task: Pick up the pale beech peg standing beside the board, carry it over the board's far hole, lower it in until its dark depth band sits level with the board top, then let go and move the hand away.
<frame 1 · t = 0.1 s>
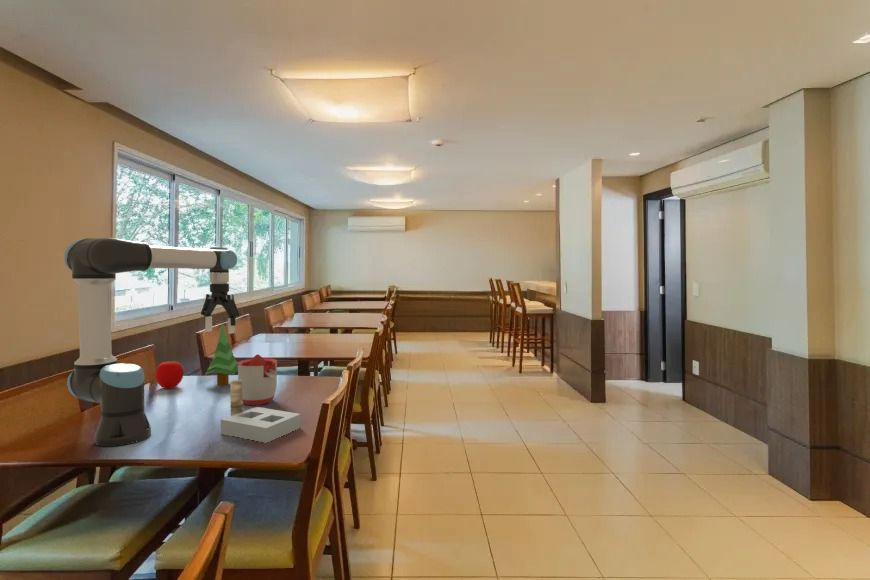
hand: (219, 332, 198), 28 cm above the table, tool pointing down, fingers open, 13 cm apart
board: (261, 431, 157), on the table
red rounded piece: (169, 388, 214), on the table
decorative tree: (222, 385, 221), on the table
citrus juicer: (259, 402, 191), on the table
peg: (236, 419, 169), on the table
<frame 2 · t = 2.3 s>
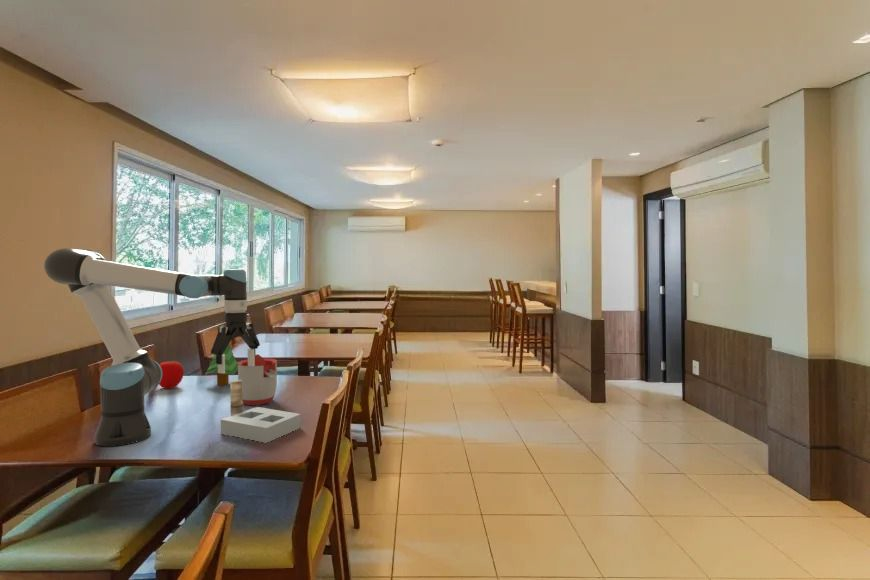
hand: (236, 369, 169), 18 cm above the table, tool pointing down, fingers open, 13 cm apart
nothing on the table moved.
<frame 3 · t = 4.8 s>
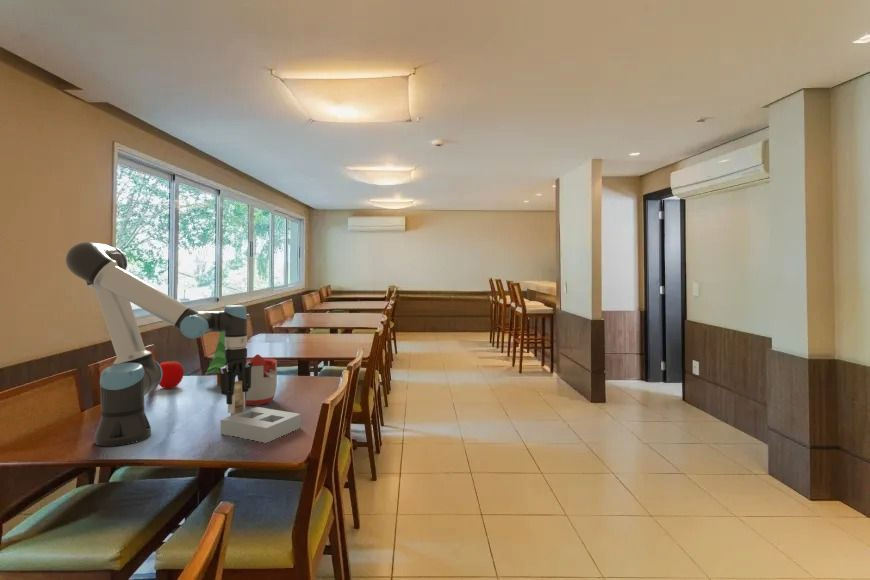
hand: (236, 410, 169), 3 cm above the table, tool pointing down, fingers closed on peg, 4 cm apart
peg: (236, 419, 169), on the table, touching gripper
everything else where it was.
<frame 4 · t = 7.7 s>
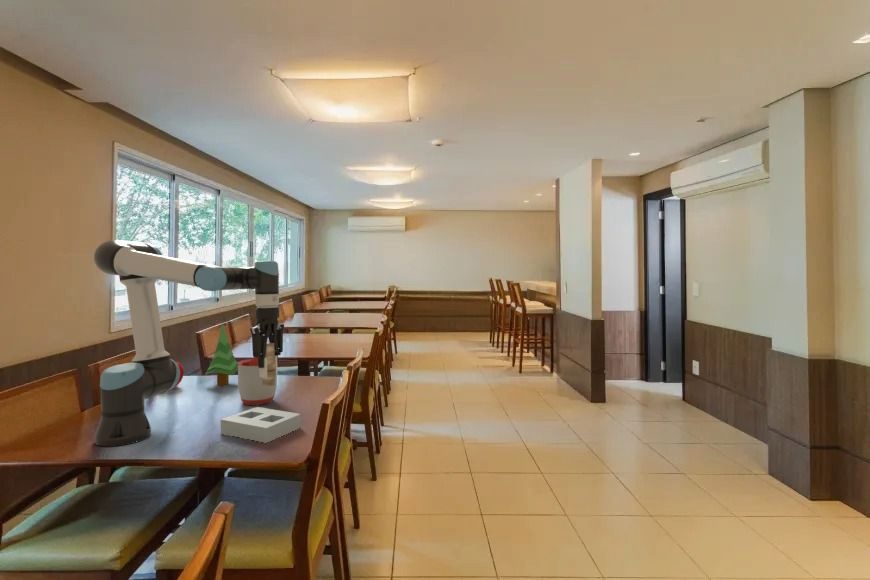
hand: (268, 375, 156), 19 cm above the table, tool pointing down, fingers closed on peg, 4 cm apart
peg: (268, 384, 156), point 16 cm above the table, touching gripper
everything else where it was.
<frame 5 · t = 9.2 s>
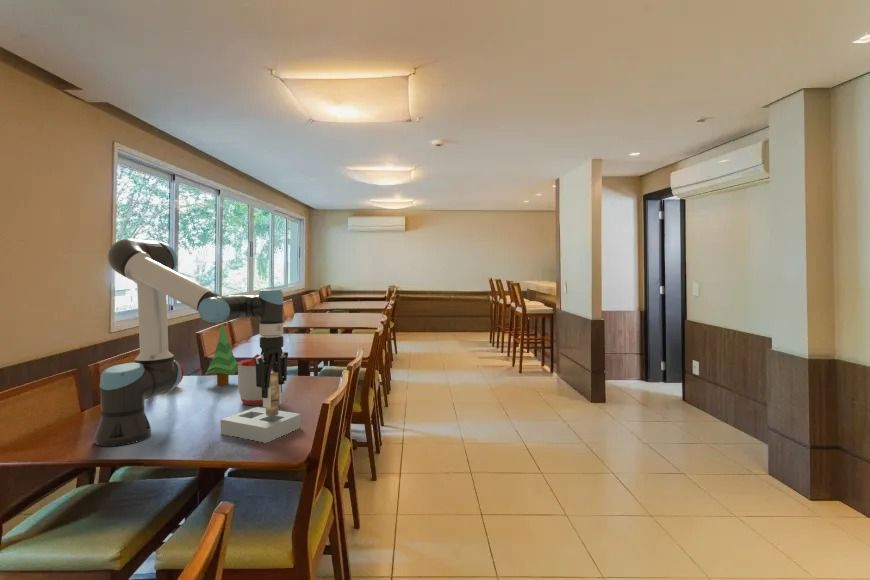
hand: (272, 405, 154), 10 cm above the table, tool pointing down, fingers closed on peg, 4 cm apart
peg: (272, 414, 154), point 6 cm above the table, touching gripper
everything else where it was.
when the fingers open (7 cm above the table, at t = 10.7 s): peg drops 3 cm, resting in board.
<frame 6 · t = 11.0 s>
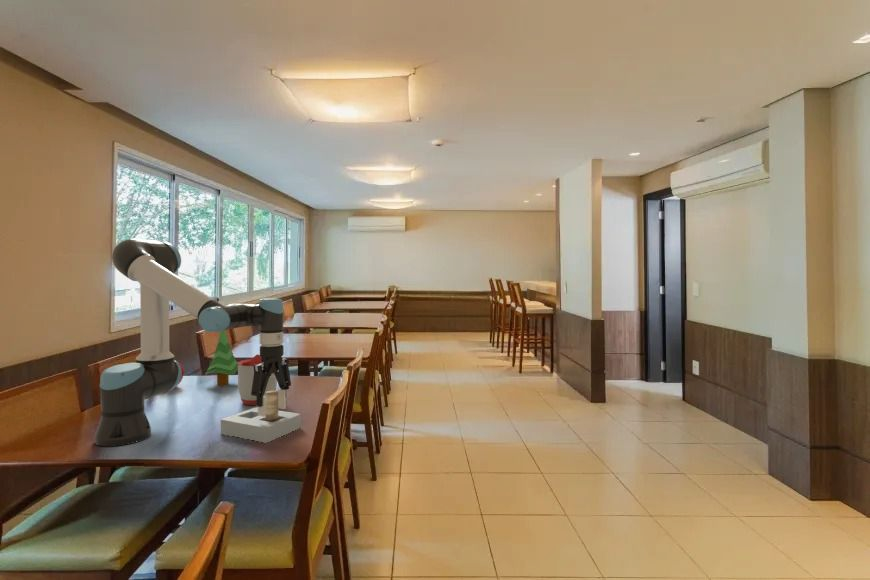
hand: (272, 411, 154), 7 cm above the table, tool pointing down, fingers open, 8 cm apart
peg: (272, 433, 155), resting in board
everything else where it was.
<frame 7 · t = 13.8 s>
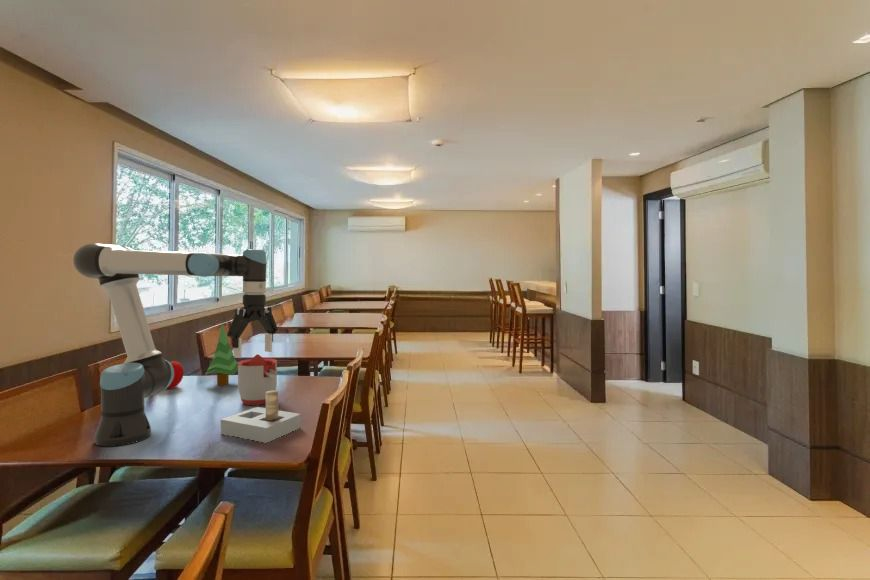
hand: (253, 354, 161), 25 cm above the table, tool pointing down, fingers open, 13 cm apart
nothing on the table moved.
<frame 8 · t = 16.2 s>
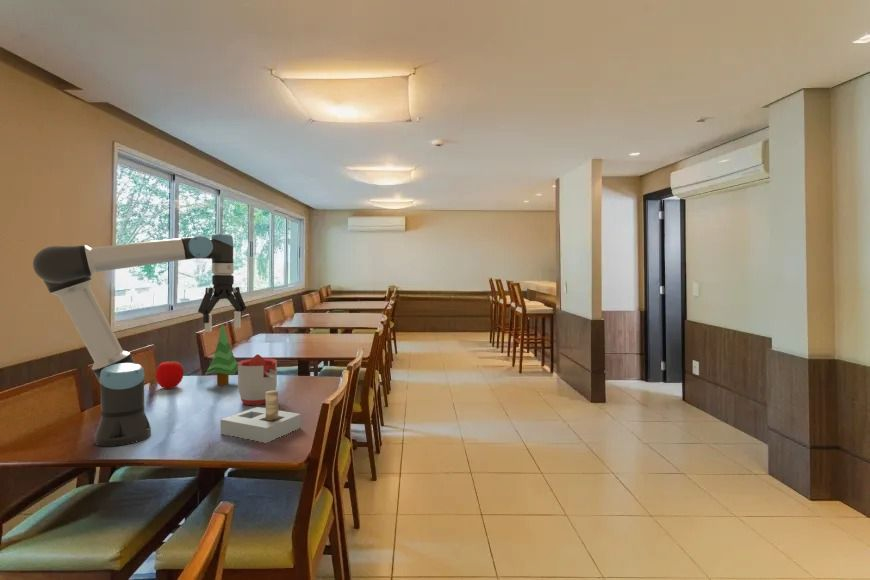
hand: (223, 329, 178), 32 cm above the table, tool pointing down, fingers open, 13 cm apart
nothing on the table moved.
at the end: peg 0.0 cm from the target spot on the board, point 0.0 cm above the board's base; peg tilted 0°; the gripper is holding nothing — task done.
